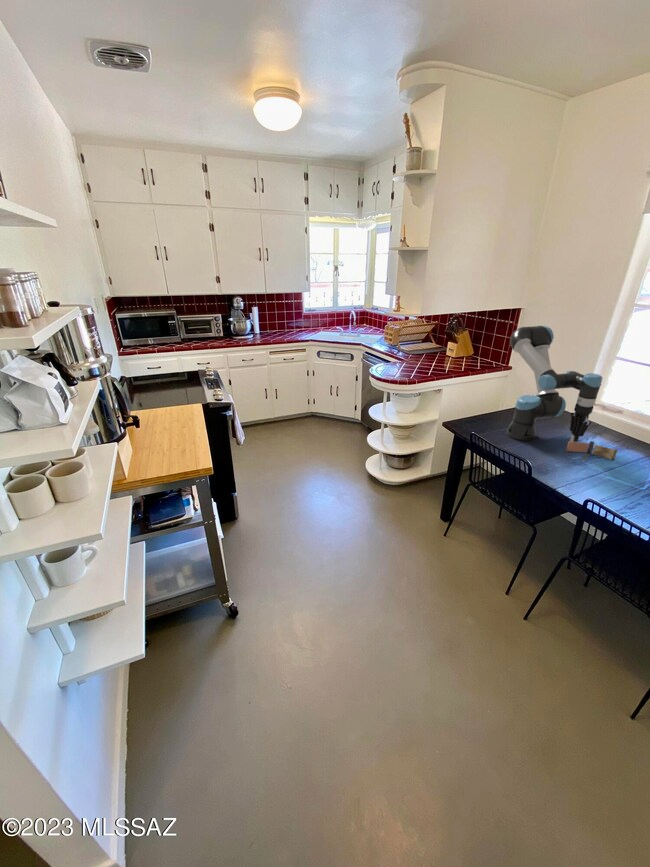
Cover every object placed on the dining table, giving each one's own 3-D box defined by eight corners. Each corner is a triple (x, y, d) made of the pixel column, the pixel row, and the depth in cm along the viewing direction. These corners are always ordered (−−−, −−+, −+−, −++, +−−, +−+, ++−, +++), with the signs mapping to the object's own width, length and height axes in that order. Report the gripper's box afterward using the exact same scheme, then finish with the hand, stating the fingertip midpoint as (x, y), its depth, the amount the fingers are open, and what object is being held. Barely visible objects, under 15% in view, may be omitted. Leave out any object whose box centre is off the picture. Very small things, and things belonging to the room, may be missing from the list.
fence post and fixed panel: (586, 452, 190) (589, 442, 187) (587, 451, 191) (590, 440, 188) (613, 460, 182) (617, 449, 179) (614, 459, 183) (618, 448, 180)
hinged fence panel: (585, 451, 191) (588, 442, 188) (586, 453, 190) (589, 443, 187) (565, 450, 193) (568, 440, 190) (566, 451, 192) (569, 441, 189)
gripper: (569, 400, 187) (558, 440, 198) (585, 409, 176) (572, 451, 186) (584, 399, 187) (572, 439, 197) (601, 409, 175) (587, 451, 186)
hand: (572, 445), depth 192 cm, fingers closed
